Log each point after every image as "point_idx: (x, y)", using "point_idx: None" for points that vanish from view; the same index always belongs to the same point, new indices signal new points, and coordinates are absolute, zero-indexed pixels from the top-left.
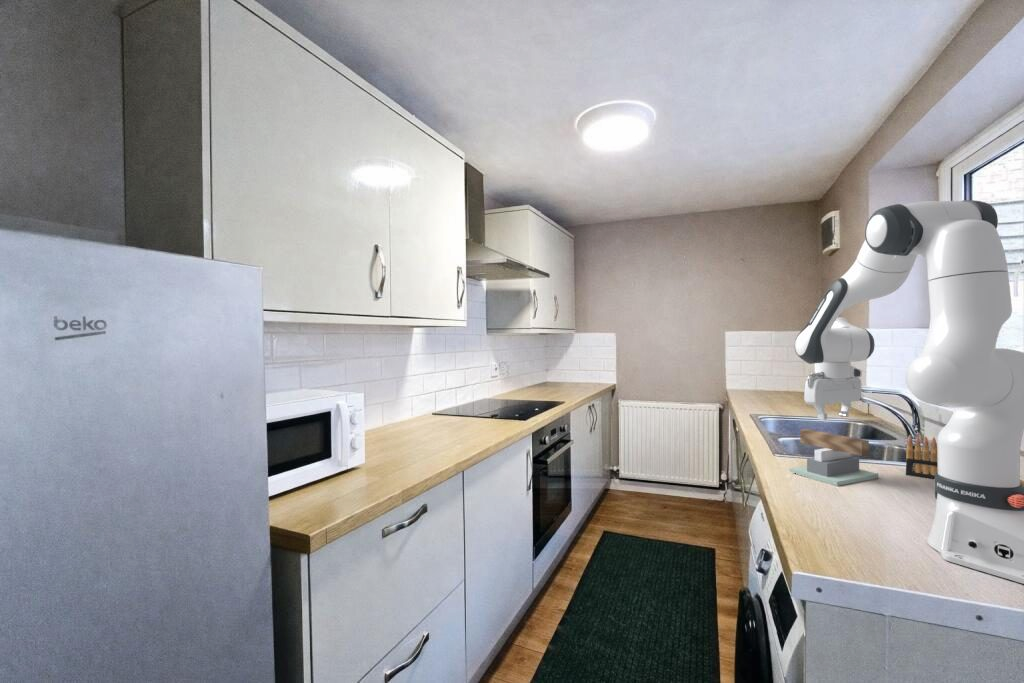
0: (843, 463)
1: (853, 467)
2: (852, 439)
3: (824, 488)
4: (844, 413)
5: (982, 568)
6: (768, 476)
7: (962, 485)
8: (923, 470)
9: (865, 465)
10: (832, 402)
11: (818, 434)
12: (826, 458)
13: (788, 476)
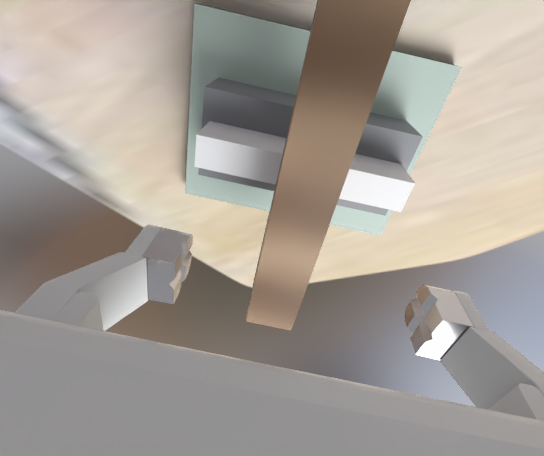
0: None
1: (251, 88)
2: (367, 77)
3: (517, 83)
4: (181, 257)
5: None
6: (470, 247)
7: None
8: None
9: (70, 114)
10: (467, 415)
11: (314, 260)
12: (371, 161)
13: (428, 214)
